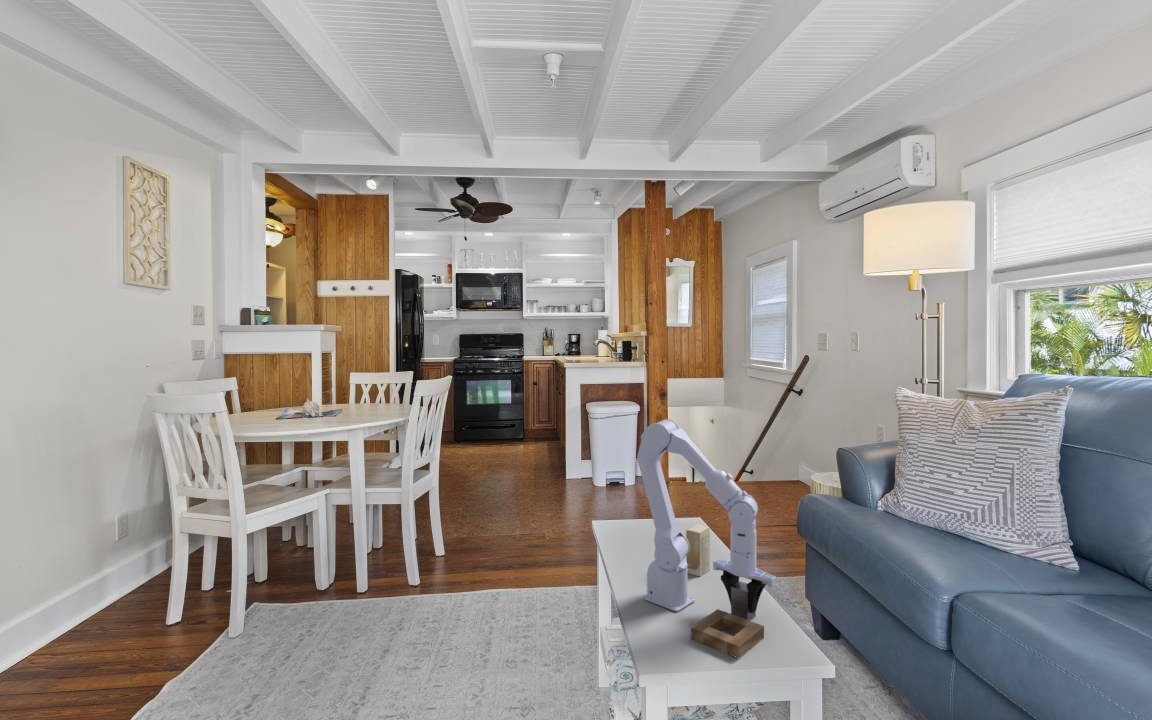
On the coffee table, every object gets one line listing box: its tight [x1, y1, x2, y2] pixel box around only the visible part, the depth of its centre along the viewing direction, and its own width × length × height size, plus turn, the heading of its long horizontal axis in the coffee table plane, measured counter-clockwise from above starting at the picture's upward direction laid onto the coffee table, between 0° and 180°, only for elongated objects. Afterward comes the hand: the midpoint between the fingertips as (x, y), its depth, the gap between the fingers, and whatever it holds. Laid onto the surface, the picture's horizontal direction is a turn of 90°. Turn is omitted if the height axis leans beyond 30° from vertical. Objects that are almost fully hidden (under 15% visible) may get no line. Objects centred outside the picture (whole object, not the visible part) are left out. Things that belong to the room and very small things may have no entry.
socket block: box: [690, 608, 765, 659], centre depth 116 cm, size 11×11×2 cm
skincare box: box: [685, 523, 711, 577], centre depth 151 cm, size 6×4×12 cm
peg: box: [730, 580, 757, 621], centre depth 125 cm, size 4×4×7 cm
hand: (743, 608), depth 126 cm, fingers closed on peg, 4 cm apart
